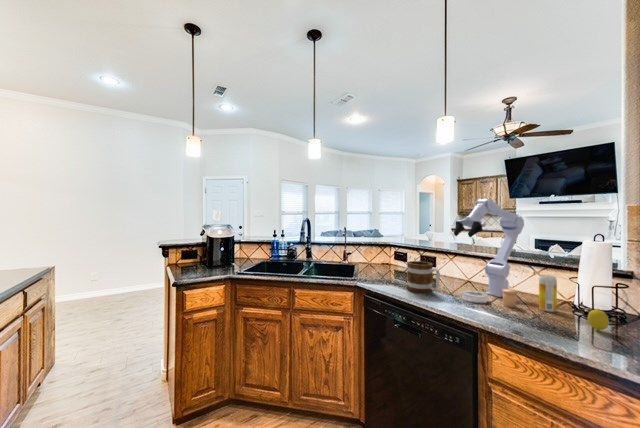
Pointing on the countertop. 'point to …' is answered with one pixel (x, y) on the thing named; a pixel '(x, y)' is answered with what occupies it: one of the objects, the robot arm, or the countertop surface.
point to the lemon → (598, 319)
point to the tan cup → (509, 297)
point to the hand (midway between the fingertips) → (461, 235)
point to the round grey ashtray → (475, 296)
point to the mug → (421, 277)
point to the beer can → (547, 293)
